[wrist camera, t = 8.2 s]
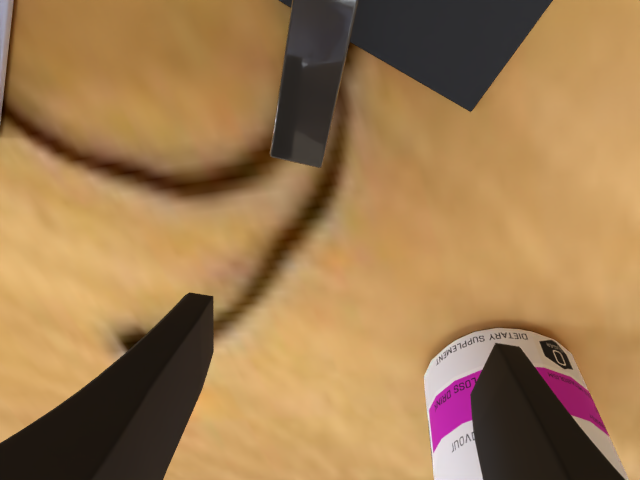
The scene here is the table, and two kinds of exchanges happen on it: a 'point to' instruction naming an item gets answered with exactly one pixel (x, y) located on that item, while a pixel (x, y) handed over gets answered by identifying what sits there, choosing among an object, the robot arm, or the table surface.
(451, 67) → the desk mat
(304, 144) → the pot
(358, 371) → the table surface
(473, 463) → the supplement can
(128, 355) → the robot arm
